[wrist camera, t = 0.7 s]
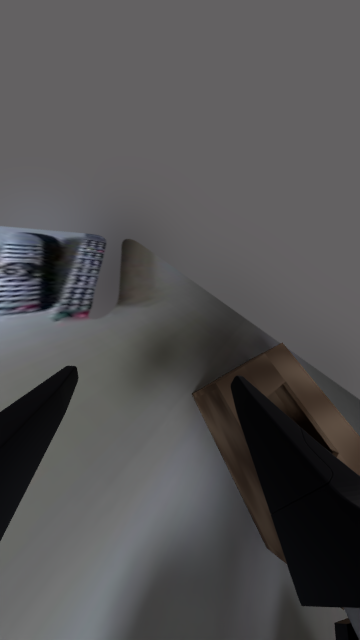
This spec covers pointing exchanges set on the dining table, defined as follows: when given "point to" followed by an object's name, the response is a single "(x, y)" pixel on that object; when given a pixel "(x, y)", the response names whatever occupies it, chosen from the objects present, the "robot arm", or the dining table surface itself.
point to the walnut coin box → (296, 402)
